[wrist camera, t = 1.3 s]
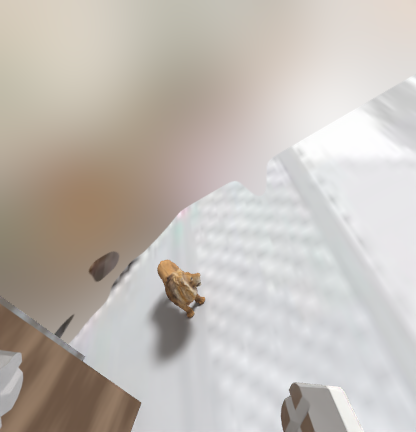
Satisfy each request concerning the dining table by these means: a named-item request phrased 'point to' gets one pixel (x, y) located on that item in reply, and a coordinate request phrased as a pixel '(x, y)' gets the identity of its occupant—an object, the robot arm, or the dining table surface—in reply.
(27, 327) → the brown tall block
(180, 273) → the lion figurine
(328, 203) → the dining table surface
